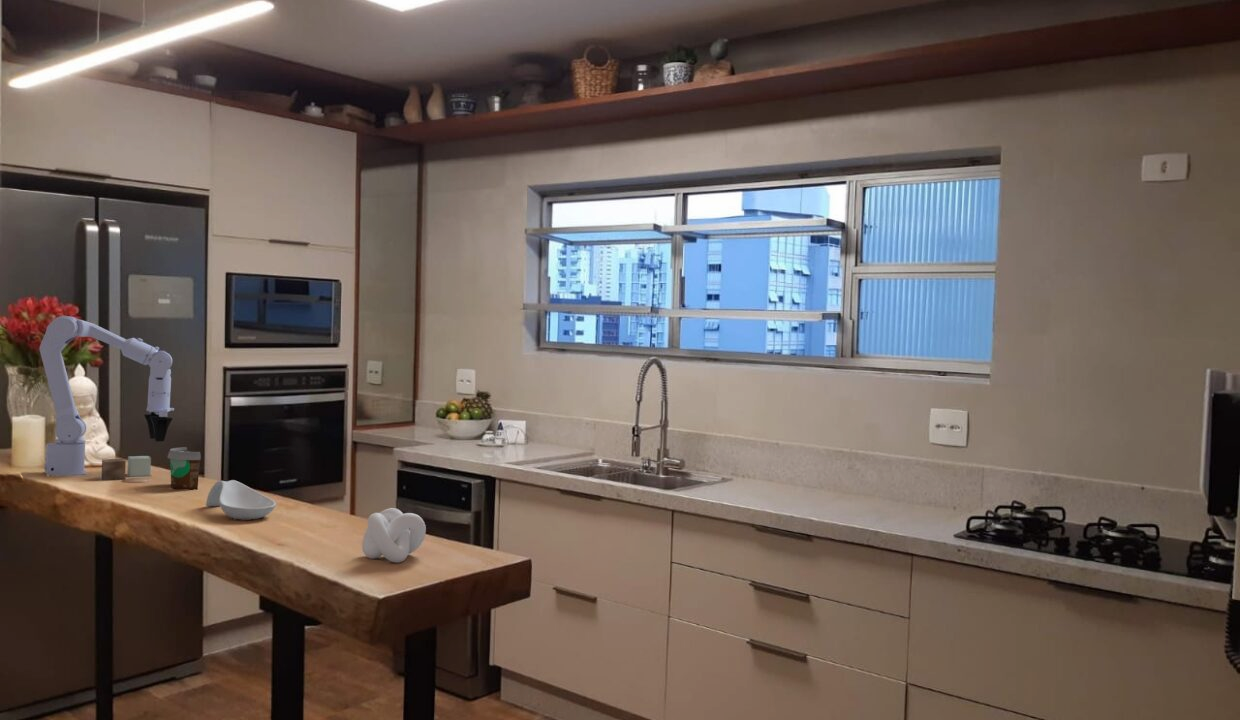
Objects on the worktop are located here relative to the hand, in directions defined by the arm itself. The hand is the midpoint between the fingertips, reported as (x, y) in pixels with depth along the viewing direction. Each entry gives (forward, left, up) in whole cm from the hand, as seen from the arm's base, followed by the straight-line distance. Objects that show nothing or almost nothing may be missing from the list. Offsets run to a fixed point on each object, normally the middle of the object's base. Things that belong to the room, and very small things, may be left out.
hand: (157, 439), depth 260 cm
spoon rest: (+5, -70, -10) cm, 71 cm away
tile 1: (-12, -9, -10) cm, 18 cm away
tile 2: (-5, -4, -10) cm, 12 cm away
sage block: (-5, -4, -9) cm, 11 cm away
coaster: (-7, -15, -10) cm, 19 cm away
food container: (+1, -28, -10) cm, 30 cm away
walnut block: (-12, -9, -9) cm, 18 cm away
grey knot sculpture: (+19, -125, -10) cm, 127 cm away
